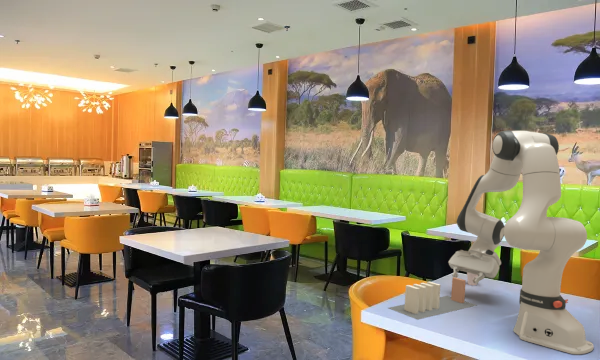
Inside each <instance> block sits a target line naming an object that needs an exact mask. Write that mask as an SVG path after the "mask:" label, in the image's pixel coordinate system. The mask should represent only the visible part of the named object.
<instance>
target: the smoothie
mask: <svg viewBox="0 0 600 360" xmlns="http://www.w3.org/2000/svg"><path fill="white" fill-rule="evenodd" d="M466 275H467V277H466V278H467V285H469V286H474V285H475V286H477V284H475V283H473V279H474V277H475V278H476V277H478V276H479V275H476V274H472V273H468V272H466Z"/></svg>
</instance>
